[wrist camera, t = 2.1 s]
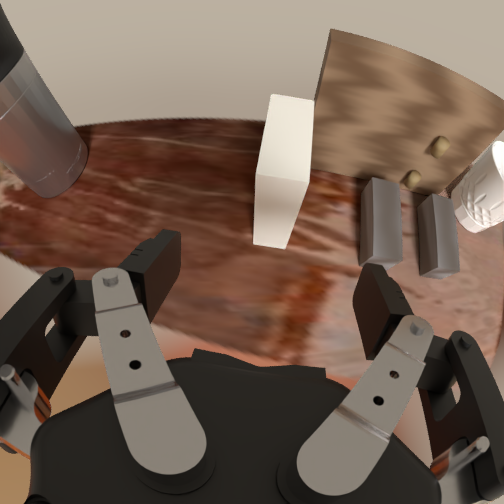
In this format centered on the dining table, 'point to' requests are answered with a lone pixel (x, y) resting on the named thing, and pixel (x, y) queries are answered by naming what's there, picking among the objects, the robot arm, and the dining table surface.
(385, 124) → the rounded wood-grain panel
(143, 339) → the robot arm
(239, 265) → the dining table surface
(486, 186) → the white cup
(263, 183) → the plain white rectangular block
